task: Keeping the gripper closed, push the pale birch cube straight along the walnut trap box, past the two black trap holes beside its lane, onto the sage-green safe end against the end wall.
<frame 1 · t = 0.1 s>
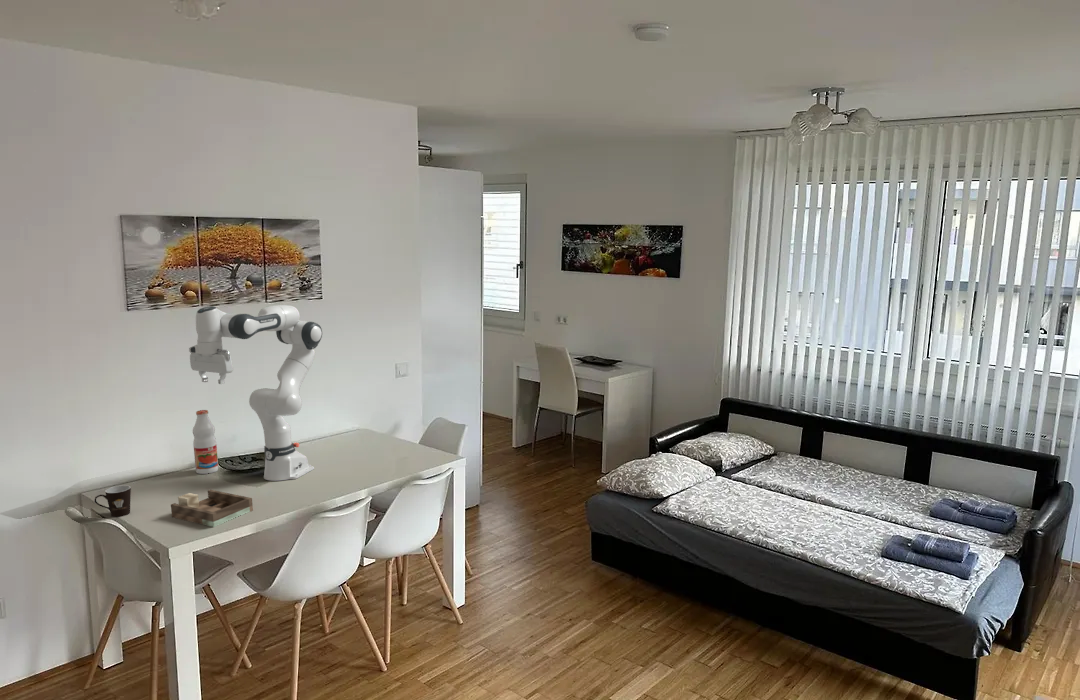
hand: (213, 382, 291), 48 cm above the table, fingers open, 8 cm apart
birch block: (189, 508, 283), point 2 cm above the table, touching trap box
fruit juice: (207, 471, 334), on the table
coffee mug: (116, 514, 284), on the table
trap box: (212, 513, 283), on the table
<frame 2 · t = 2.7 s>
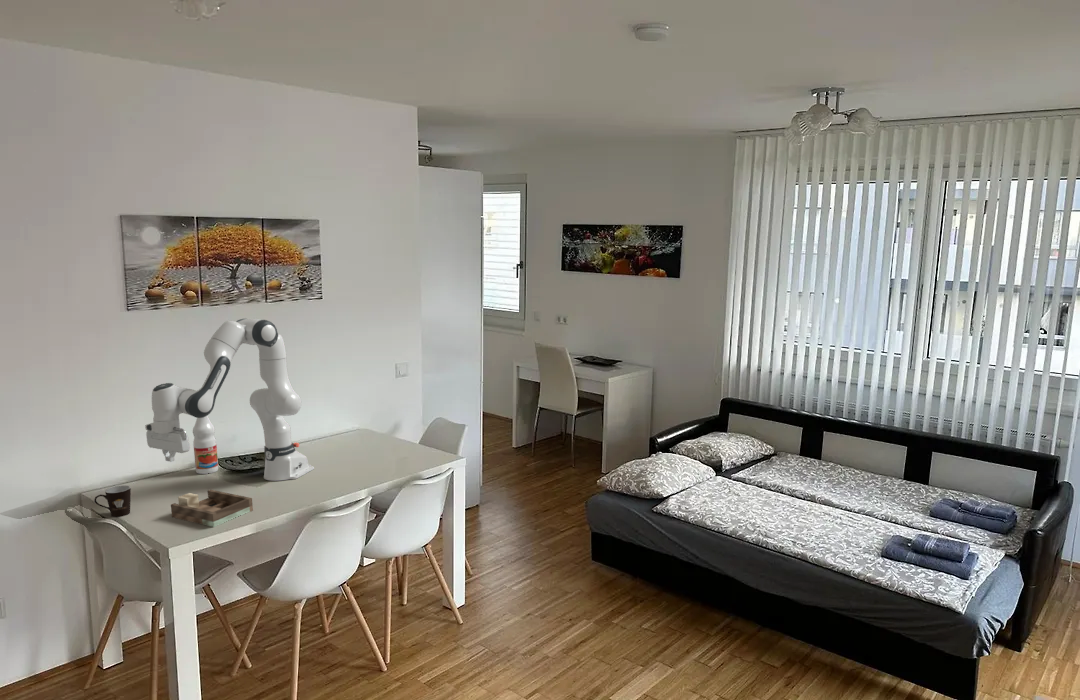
hand: (170, 460, 284), 20 cm above the table, fingers closed
nothing on the table moved.
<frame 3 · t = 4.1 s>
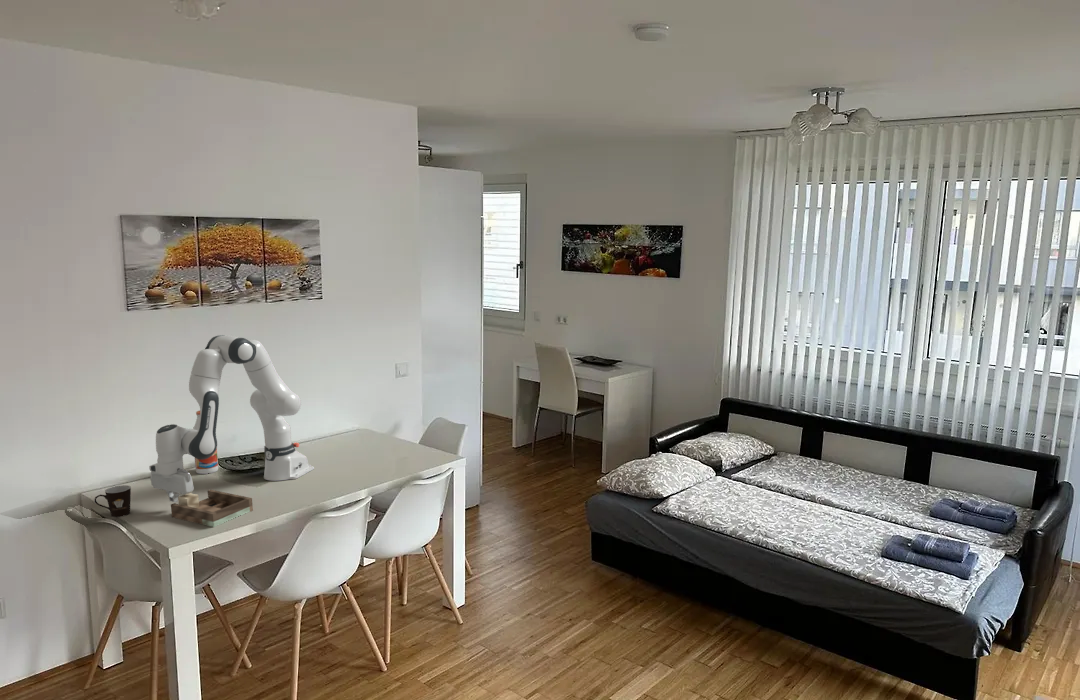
hand: (173, 501, 287), 4 cm above the table, fingers closed
nothing on the table moved.
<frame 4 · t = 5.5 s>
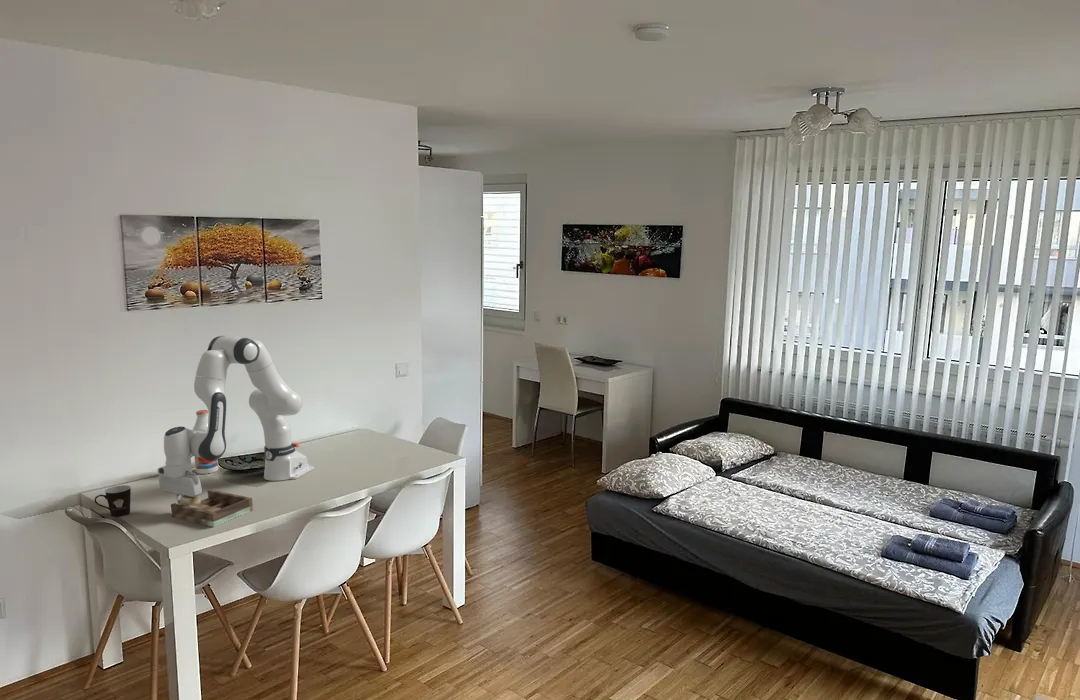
hand: (182, 504, 285), 3 cm above the table, fingers closed
birch block: (190, 508, 283), point 2 cm above the table, touching gripper
everything else where it was.
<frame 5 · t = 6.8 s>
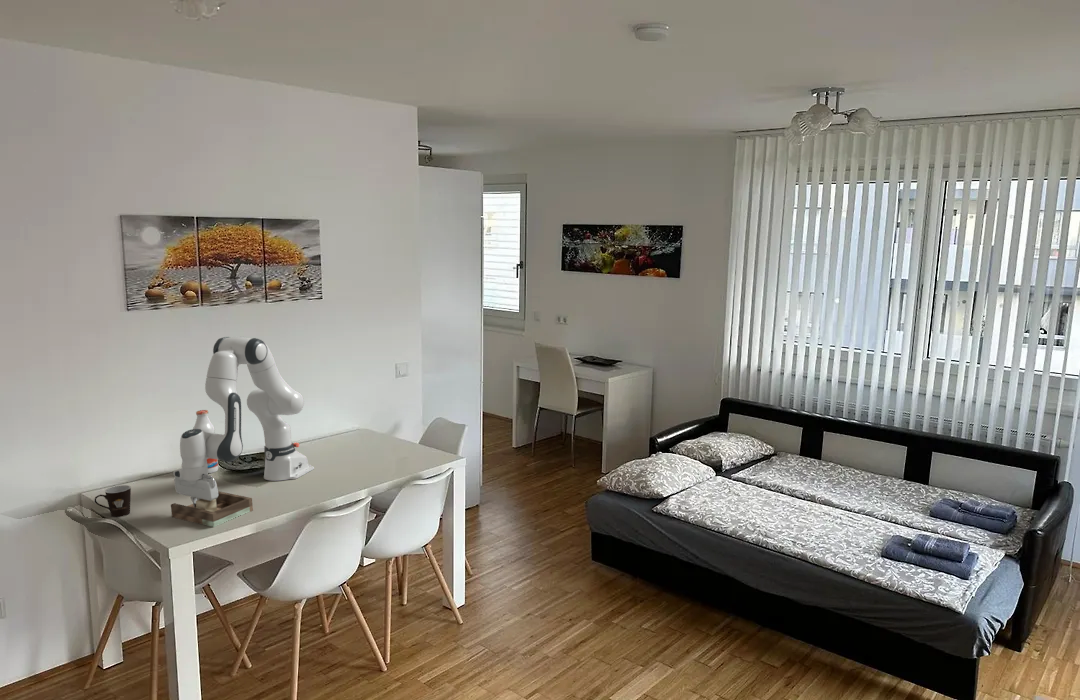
hand: (198, 507, 280), 3 cm above the table, fingers closed
birch block: (206, 512, 278), point 2 cm above the table, touching gripper
everything else where it was.
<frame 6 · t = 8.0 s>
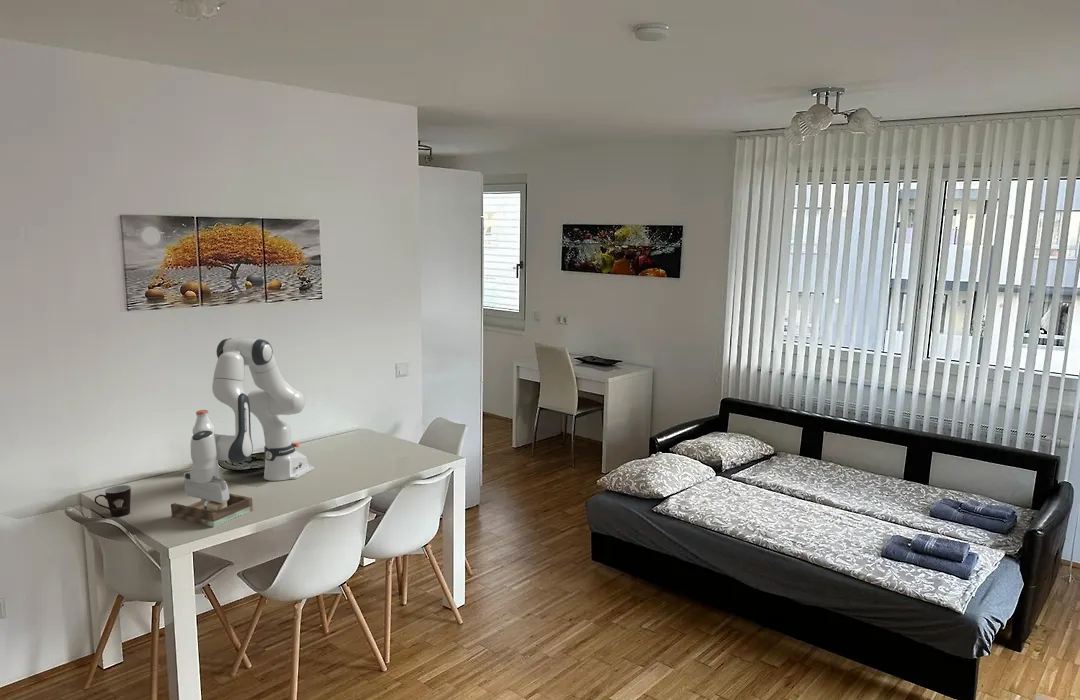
hand: (208, 510, 278), 3 cm above the table, fingers closed
birch block: (217, 514, 276), point 2 cm above the table, touching gripper, trap box
everything else where it was.
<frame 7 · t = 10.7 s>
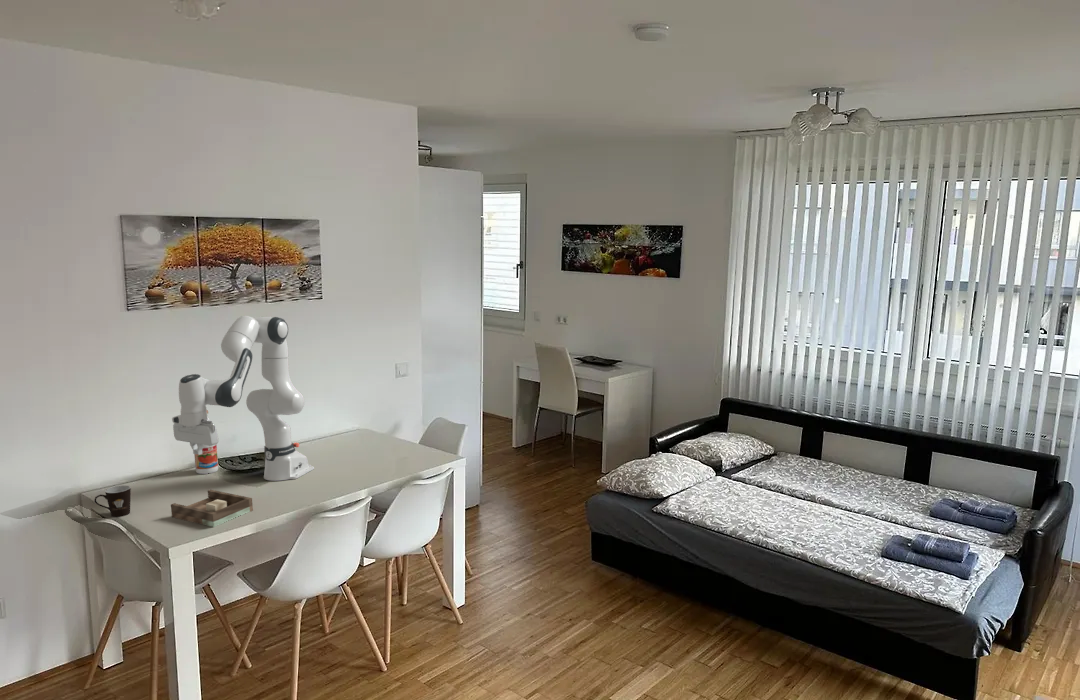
hand: (197, 454, 278), 24 cm above the table, fingers closed
birch block: (217, 515, 276), point 2 cm above the table, touching trap box
everything else where it was.
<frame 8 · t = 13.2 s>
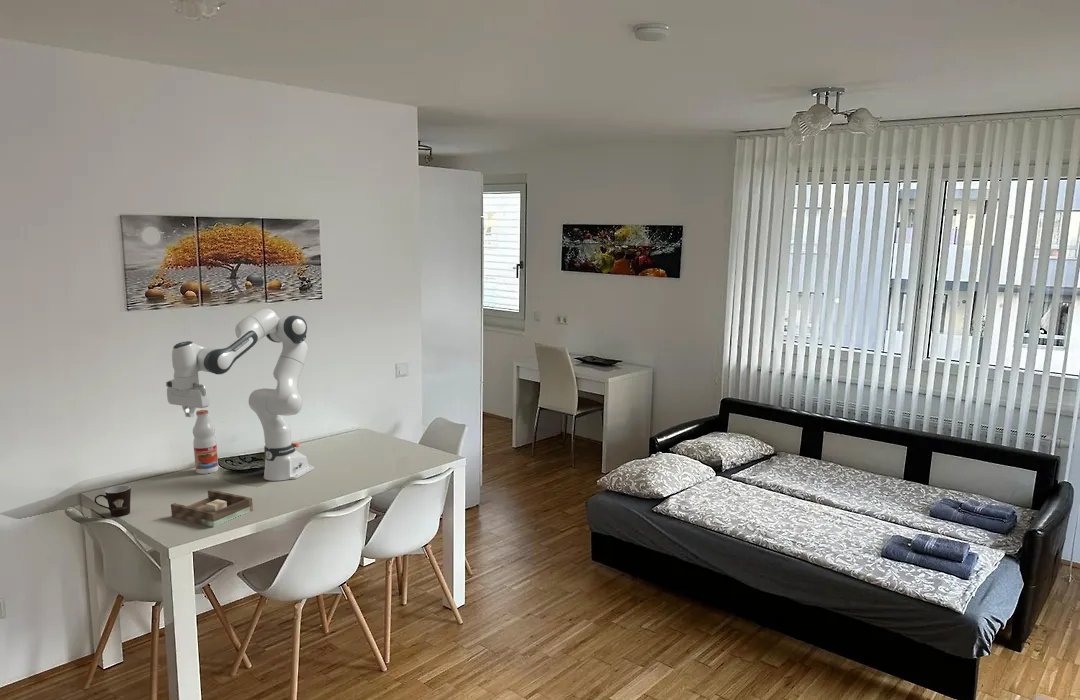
hand: (189, 416, 294), 34 cm above the table, fingers closed
nothing on the table moved.
at the end: birch block 0.5 cm from the target spot on the trap box, point 2.0 cm above the trap box's base; birch block tilted 0° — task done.
